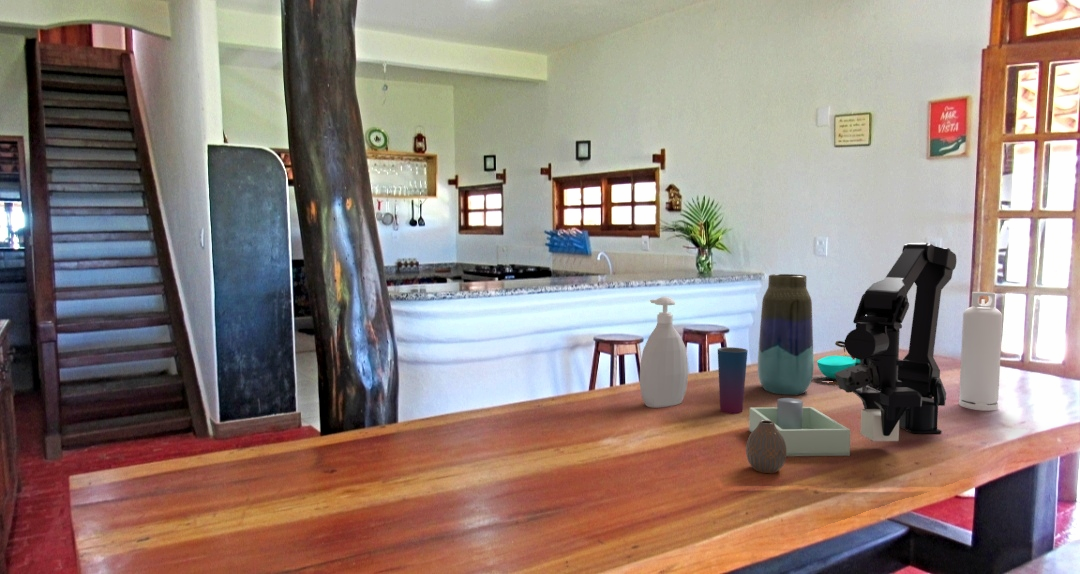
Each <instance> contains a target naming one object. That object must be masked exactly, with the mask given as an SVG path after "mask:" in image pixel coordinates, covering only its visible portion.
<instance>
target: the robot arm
mask: <svg viewBox="0 0 1080 574" xmlns="http://www.w3.org/2000/svg"><path fill="white" fill-rule="evenodd" d="M901 251H902V252H901V254H900V255H899V257H898V258H897V260H896V261H895V263H894V264H893V266H892V267H891V268H890V270H889V271H888V273H887V274H886V275H885V278H884V279H881V280H879V281H877V282H874V283H872V284H871V285H870V286H869V287H868V288H867V289H866V290H865V292H864V293H863V294H862V296H861V298H860V301H859V303H858V304H859V305H858V307H857V309H856V312H855V315H854V318H853V322H852V323H853V324H855V328H854V329H853V330H851V331H849V332H848V333H847V335H846V336H845V339H844V342H845V351H846V352H847V353H848V354H849V356H850V357H851V356H852V357H854V358H855V359H860V365H856V366H852V367H849V368H847V369H844V370H841V371H838V372H836V373H835V376H836V379H835V380H837V383H838V385H837V386H838V389H839V390H843V391H844V392H845V393H853V394H855V395H856V396H857V397H858V398H859V399H860V400H861V402H862V405H863V408H864V409H881V420H882V430H883V435H884V436H889V435H890V434H891V432H892V431H893V429H894V427H895V426H896V424H897V422H898V421H899V428H901V429H903V430H904V431H907V432H909V433H911V434H942V431H943V430H941V429H939V428H938V423H939V422H938V419H939V417H938V416H939V407H944V406H946V400H947V392H946V389H945V387H944V384H943V382H942V379H941V377H940V376H941V370H940V367H939V366H938V364H937V362H936V360H935V358H934V352H935V343H936V338H937V337H936V336H937V329H938V328H937V327H938V321H939V320H938V318H939V311H940V306H941V305H940V303H941V294H942V290H943V289H944V288H945V286H946V285H947V284H948V283H949V282H950V281H951V280H952V278H953V272H954V270H955V269H956V265H957V255H956V253H955V252H953V251H952V249H950V248H948V247H940V246H936V245H934V244H932V243H929V242H908V243H905V244H903V247H902V250H901ZM914 284H915V286H916V288H915V289H916V290H915V299H914V306H913V315H912V322H911V328H910V338H909V344H908V345H909V347H908V352H907V354H906V355H905V356H904V358H903V359H901V358H899V357H900V356H899V355H900V335H901V332H900V331H901V330H900V329H902V328H903V325H902V323H903V322H904V319H905V317H906V315H907V313H908V310H909V308H910V303H909V300H908V299H909V298H908V294H909V292H910V290H911V288H912V287H913V285H914Z"/></svg>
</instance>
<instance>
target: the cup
mask: <svg viewBox="0 0 1080 574" xmlns="http://www.w3.org/2000/svg"><path fill="white" fill-rule="evenodd" d="M747 361H748V349H747V348H742V347H719V348H717V365H718V367H717V368H718V387H719V389H718V390H719V392H718V393H719V408H720V409H719V410H720V412H722V413H724V414H731V415H735V414H742V413H743V409H744V397H745V383H746V375H747V373H746V372H747Z"/></svg>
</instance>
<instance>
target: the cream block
mask: <svg viewBox="0 0 1080 574" xmlns="http://www.w3.org/2000/svg"><path fill="white" fill-rule="evenodd" d="M860 411H861V412H860V413H861V414H860V435H862V436H863V437H865V438H867V439H869V440H870V441H872V442H899V439H900V438H899V437H900V435H899V434H900V427H899V421H898V422H897V424H896V426H895V427H894V429H893V431H892V432H891V434H890V435H889V436H884V435H883V430H882V420H881V409H863V408H861V410H860Z"/></svg>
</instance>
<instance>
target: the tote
mask: <svg viewBox="0 0 1080 574" xmlns="http://www.w3.org/2000/svg"><path fill="white" fill-rule="evenodd" d="M748 414H749V418H748V431H749V432H751V433H752V432H753V431H754V430H755V429H756V427H757V426H758V425H759V422H760V421H762V420H768V421H772V422H774V424H775V427H776V428H777V430H778V431H779V432H780V434H781V435H782V437H783V438H784V441H785V444H786V457H828V456H829V457H830V456H831V457H832V456H833V457H834V456H835V457H840V456H841V457H842V456H843V457H845V456H847V457H848V456H849V457H850V455H851V429H850V428H848V427H846V426H845V425H843V424H841V423H839V422H838V421H836V420H835V419H833V418H831V417H829V416H828V415H826V414H824V413H823V412H821V411H819V410H818V409H816V408H815V407H813V406H803V416H802V429H781V428H780V427H779V426H777V406H775V407H749V412H748ZM751 433H750V434H751Z"/></svg>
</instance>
